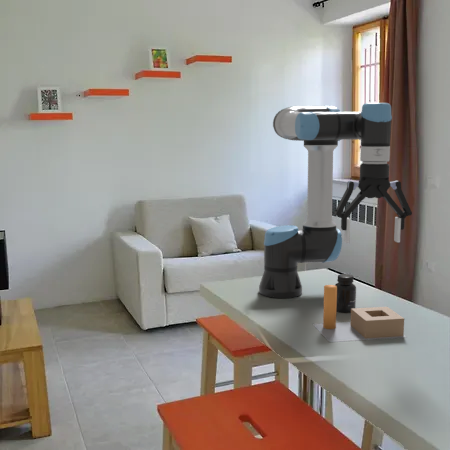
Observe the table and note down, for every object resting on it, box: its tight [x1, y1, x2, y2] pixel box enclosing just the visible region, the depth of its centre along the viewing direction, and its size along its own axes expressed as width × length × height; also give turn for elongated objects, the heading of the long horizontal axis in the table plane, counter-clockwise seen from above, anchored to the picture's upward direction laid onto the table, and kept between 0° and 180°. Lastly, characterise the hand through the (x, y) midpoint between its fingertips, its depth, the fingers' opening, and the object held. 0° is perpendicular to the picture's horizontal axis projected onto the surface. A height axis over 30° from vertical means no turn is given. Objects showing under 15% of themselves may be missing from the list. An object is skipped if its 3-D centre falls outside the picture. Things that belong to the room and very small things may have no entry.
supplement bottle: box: [335, 273, 357, 314], centre depth 185 cm, size 7×7×12 cm
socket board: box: [312, 306, 407, 343], centre depth 166 cm, size 15×22×6 cm
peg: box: [322, 284, 337, 329], centre depth 168 cm, size 4×4×12 cm
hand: (371, 242), depth 159 cm, fingers open, 13 cm apart
